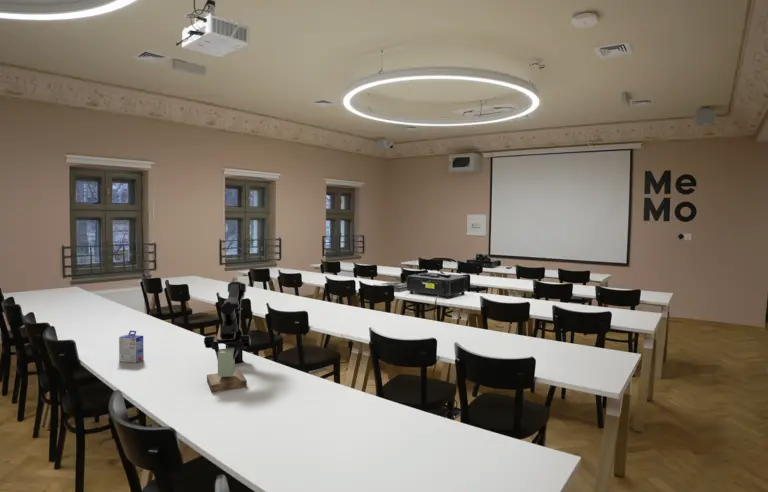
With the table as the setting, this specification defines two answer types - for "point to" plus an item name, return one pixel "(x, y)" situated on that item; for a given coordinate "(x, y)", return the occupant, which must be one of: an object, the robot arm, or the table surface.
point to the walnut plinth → (226, 382)
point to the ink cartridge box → (131, 348)
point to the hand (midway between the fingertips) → (225, 359)
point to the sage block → (226, 362)
